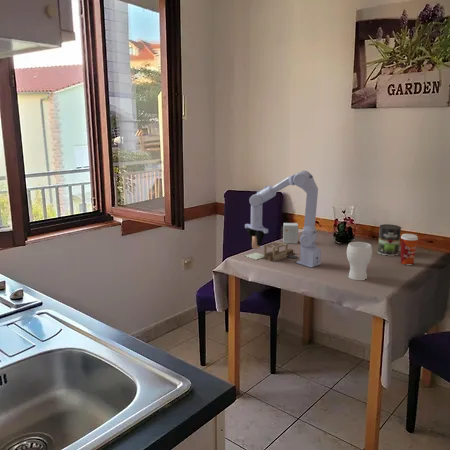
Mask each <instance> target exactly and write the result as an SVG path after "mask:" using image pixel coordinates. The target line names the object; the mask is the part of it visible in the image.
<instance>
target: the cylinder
mask: <svg viewBox="0 0 450 450" xmlns="http://www.w3.org/2000/svg"><path fill="white" fill-rule="evenodd" d="M251 248H252V249H256V250H257V249H260V248H261V245H260V246H257V237H256V235H253V236H252V244H251Z"/></svg>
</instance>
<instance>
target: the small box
mask: <svg viewBox="0 0 450 450" xmlns="http://www.w3.org/2000/svg"><path fill="white" fill-rule="evenodd" d="M282 226H283V227H282V231H283V232H282V233H283V234H282V241H283V242H282V243H284V244H293V245H294V244H298V241H299V224H298V222H283V225H282Z"/></svg>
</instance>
